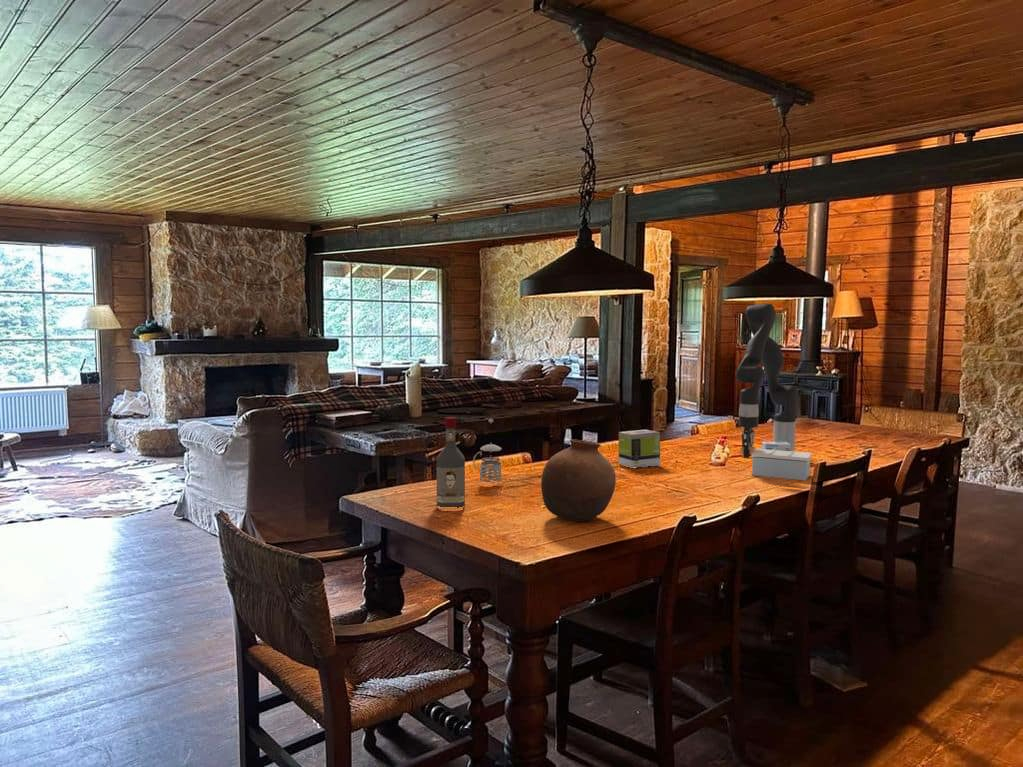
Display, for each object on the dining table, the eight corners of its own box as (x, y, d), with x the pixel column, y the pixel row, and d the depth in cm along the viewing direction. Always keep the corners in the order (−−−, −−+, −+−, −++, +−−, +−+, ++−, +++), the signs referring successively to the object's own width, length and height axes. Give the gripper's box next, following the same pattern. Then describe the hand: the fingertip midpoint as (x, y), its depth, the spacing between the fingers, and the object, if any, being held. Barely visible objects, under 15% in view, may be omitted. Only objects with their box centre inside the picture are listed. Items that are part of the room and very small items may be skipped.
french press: (500, 488, 275) (500, 420, 273) (470, 486, 277) (470, 419, 275) (506, 482, 284) (506, 417, 282) (476, 481, 287) (476, 416, 284)
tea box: (646, 462, 326) (647, 428, 325) (660, 466, 317) (661, 431, 316) (617, 465, 319) (618, 431, 318) (631, 469, 310) (631, 434, 309)
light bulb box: (786, 466, 318) (787, 441, 317) (790, 469, 311) (791, 444, 310) (760, 465, 319) (761, 440, 318) (764, 468, 312) (765, 443, 311)
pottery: (530, 524, 226) (530, 442, 224) (556, 506, 247) (557, 432, 245) (602, 532, 217) (603, 448, 215) (623, 514, 238) (624, 436, 236)
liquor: (437, 505, 249) (436, 416, 247) (464, 504, 250) (464, 415, 247) (436, 512, 240) (436, 419, 237) (464, 511, 241) (464, 419, 238)
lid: (744, 450, 307) (744, 444, 307) (811, 456, 295) (811, 449, 295) (738, 455, 297) (738, 449, 296) (808, 461, 284) (808, 454, 284)
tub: (757, 472, 305) (757, 452, 304) (809, 477, 295) (810, 457, 295) (752, 477, 295) (752, 457, 294) (806, 482, 286) (806, 461, 285)
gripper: (742, 412, 307) (741, 453, 309) (735, 416, 295) (734, 459, 296) (761, 413, 304) (760, 454, 305) (755, 417, 291) (753, 460, 293)
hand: (747, 456), depth 301 cm, fingers closed on lid, 4 cm apart
